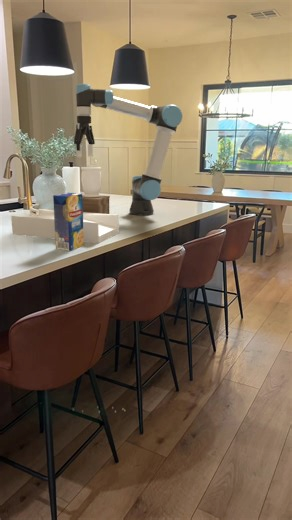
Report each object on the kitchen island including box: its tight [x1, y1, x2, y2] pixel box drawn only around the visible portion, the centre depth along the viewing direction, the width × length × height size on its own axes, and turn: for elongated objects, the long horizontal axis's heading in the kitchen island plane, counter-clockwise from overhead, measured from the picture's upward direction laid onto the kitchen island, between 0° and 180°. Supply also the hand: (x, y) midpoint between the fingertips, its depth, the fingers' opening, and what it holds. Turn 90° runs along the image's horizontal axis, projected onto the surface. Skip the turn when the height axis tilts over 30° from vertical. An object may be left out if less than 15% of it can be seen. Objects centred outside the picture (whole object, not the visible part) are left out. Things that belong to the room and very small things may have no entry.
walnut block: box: [82, 194, 111, 214], centre depth 213 cm, size 14×14×15 cm
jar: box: [80, 166, 103, 198], centre depth 210 cm, size 11×10×15 cm
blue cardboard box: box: [52, 192, 85, 252], centre depth 169 cm, size 7×11×22 cm, turn 157°
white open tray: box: [10, 208, 120, 244], centre depth 195 cm, size 45×22×10 cm, turn 71°
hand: (85, 156), depth 224 cm, fingers open, 13 cm apart
